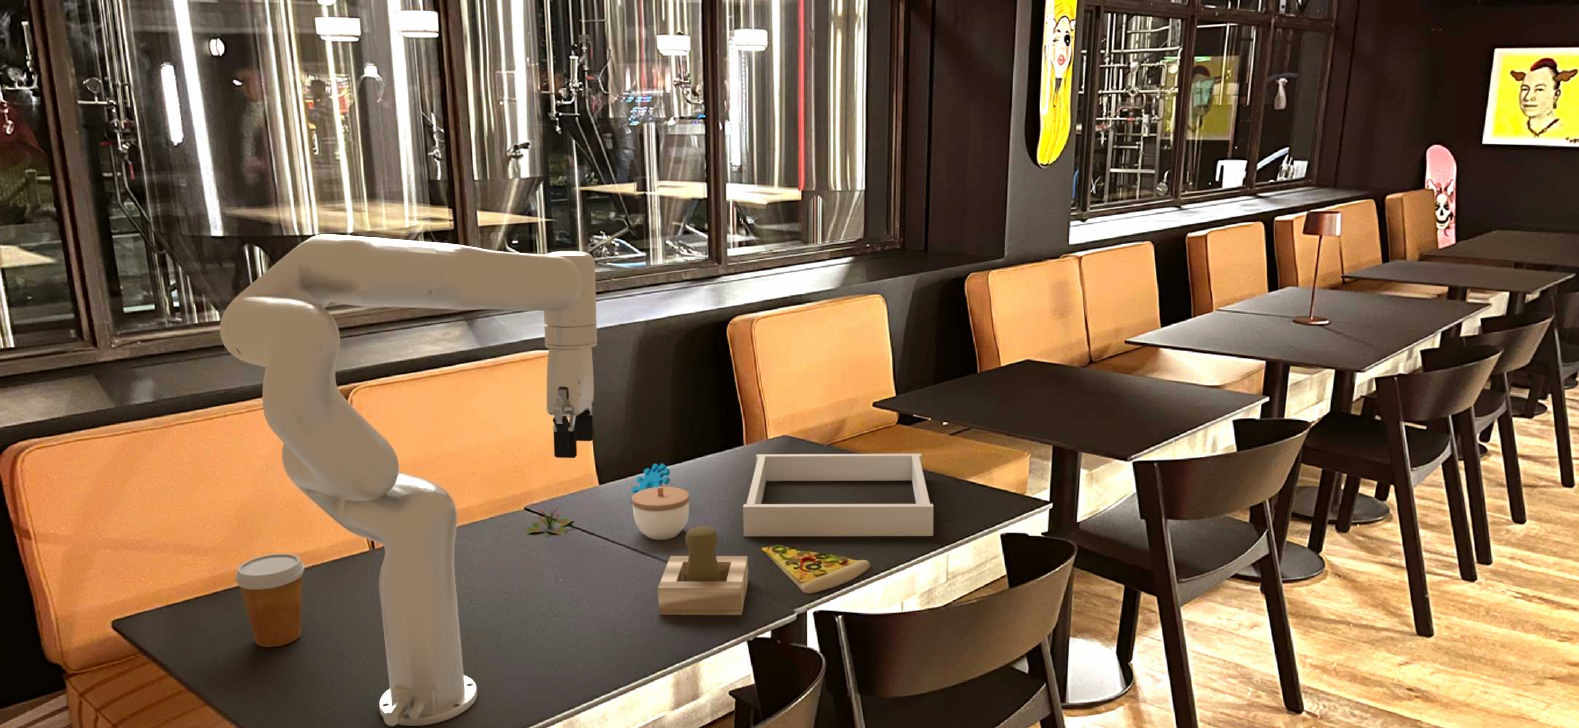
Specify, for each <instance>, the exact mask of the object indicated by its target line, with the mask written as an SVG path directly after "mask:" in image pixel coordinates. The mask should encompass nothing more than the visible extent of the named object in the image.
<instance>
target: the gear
mask: <svg viewBox="0 0 1579 728" xmlns="http://www.w3.org/2000/svg"><path fill="white" fill-rule="evenodd" d="M643 473H644V478H643V477H642V476H638V477H637V478H636V482H637V483H638V484H639V486H636V485H634V486H633V487H632V489H631V493H633V495H634V494H635V493H637V492H639V491H641V490H644V489H648V488H654V487H663V486H662V484H663V483H664V484H665V485H669V483H670V480H671V478H670V477H668V476H669V475H670V474H671V470H670V469H669V468H668V467H667V465H665V464H664V463H660V464H657V463H653V464H652V466H651V469H650V468H649V467H648V468H644V469H643ZM633 495H631V497H630V498H631V499H630V500H631V501H632V496H633Z"/></svg>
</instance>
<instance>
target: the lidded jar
mask: <svg viewBox="0 0 1579 728" xmlns="http://www.w3.org/2000/svg"><path fill="white" fill-rule="evenodd" d="M631 497H632V500H631V504H632V514H633V520H634V521H635V524H636V526H637V528H638V529H639V530H640V532H641V533H642V534H644V535H645V536H646V537H647V538H649V539H652V540H658V541H659V540H668V539H672V538H674V537H677V536H678V535H679V534H680V533H681V532H682V531H683V530H684V528H686V527H685V526H686V525H687V522H688V520H689V515H690V493H689V492H688V491H687V490H685V489H683V488H679V487H674V486H673V487H672V486H662V487H654V488H648V489H644V490H641V491H639V492H637V493H633V496H632V495H631Z"/></svg>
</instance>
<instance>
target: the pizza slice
mask: <svg viewBox="0 0 1579 728" xmlns="http://www.w3.org/2000/svg"><path fill="white" fill-rule="evenodd" d="M761 551H762V552H764V553H765V554H766V556H767V557H768V558H770V559H771V561H773V563H775V564H776V565H777V566H778V567H779V568H780V570H781V571H783V572H784V574H785V575H786V576H787V577H788V578H789V579H790V581H791V580H792V582H793V583H794V584H795V585H796V586H798V588H799V589H800V590H801V592H802V593H804V594H813V593H817V592H821V591H824V590H827V589H833V588H834V587H837V586H840V585H843V584H845V583H847V582H849V581H852V580H854V579H855V578H857V577H859V576H860V575H862V574H864V573H865V572H867V571H868V570H869V569H870V567H871V563H870V562H869V561H868V560H866V559H860V560H857V559H851V558H849V557H847V556H844V555H842V556H841V555H837V554H836V555H833V554H832V553H831V554H830V553H828V552H818V551H815V552H813V551H807V550H799V549H798V547H797V546H792V547H787V546H785V545H783V544H775V545H773V546H769V547H768V546H767V547H761Z"/></svg>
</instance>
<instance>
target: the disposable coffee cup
mask: <svg viewBox="0 0 1579 728" xmlns="http://www.w3.org/2000/svg"><path fill="white" fill-rule="evenodd" d="M305 567H306V566H305V564H304V563H303V562H302V560H301V557H300V556H299V555H298V554H297V555H296V554H294V553H293V554H292V553H270V554H264V555H260V556H258V557H257V556H256V557H254V558H251V559H249V560H246V561H245V562H243V563H242V564H239V566H238V567H237V573H236V575H235V577H234V580H235V582H236V583H237V586H239V587H240V591H241V594H242V599H243V601H244V606H245V609H246V612H247V616H248V619H249V622H250V626H251V630H252V633H253V637H254V641H255V643H256V645H257V646H260V647H262V648H273V647H280V646H281V647H282V646H284V645H288V644H290V643H293V642H294V641H296V640H297V639H299V638H300V637H301V635H302V599H303V598H302V596H303V593H302V592H303V589H302V588H303V575H304V570H306V569H305Z"/></svg>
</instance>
